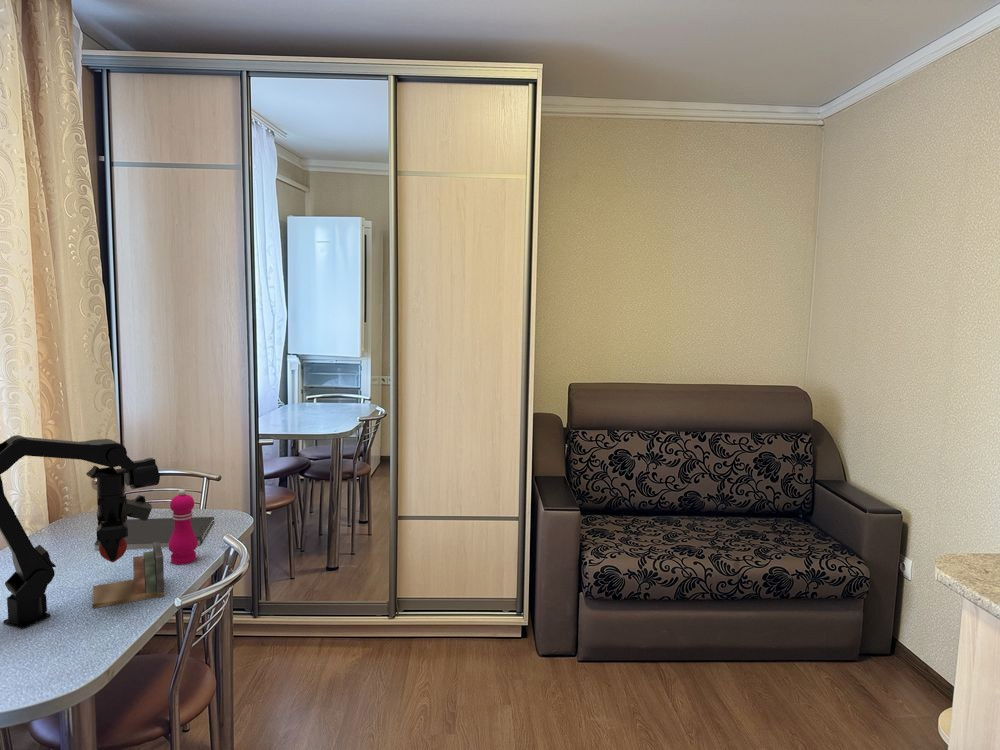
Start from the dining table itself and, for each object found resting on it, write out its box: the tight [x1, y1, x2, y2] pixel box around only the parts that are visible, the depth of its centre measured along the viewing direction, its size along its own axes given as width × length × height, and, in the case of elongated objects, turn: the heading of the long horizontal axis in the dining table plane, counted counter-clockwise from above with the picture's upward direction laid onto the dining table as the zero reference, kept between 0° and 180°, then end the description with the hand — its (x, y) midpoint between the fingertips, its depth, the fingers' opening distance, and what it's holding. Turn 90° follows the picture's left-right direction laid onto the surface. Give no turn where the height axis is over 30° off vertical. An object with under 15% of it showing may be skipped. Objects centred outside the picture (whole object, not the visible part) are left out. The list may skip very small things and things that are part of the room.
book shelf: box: [92, 542, 165, 609], centre depth 168 cm, size 15×11×10 cm
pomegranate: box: [98, 538, 127, 563], centre depth 165 cm, size 6×6×8 cm
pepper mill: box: [168, 488, 198, 565], centre depth 188 cm, size 7×7×20 cm
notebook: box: [93, 516, 215, 551], centre depth 207 cm, size 22×2×28 cm
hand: (112, 555), depth 166 cm, fingers closed on pomegranate, 6 cm apart
